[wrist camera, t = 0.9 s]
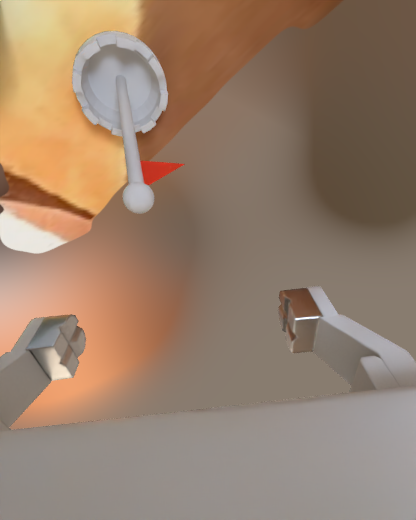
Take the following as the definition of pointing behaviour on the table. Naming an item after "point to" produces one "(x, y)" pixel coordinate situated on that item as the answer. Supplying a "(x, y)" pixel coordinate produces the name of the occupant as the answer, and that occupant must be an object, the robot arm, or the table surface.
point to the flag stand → (124, 102)
